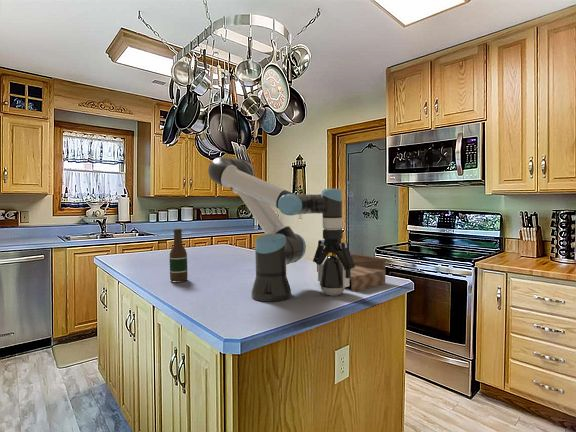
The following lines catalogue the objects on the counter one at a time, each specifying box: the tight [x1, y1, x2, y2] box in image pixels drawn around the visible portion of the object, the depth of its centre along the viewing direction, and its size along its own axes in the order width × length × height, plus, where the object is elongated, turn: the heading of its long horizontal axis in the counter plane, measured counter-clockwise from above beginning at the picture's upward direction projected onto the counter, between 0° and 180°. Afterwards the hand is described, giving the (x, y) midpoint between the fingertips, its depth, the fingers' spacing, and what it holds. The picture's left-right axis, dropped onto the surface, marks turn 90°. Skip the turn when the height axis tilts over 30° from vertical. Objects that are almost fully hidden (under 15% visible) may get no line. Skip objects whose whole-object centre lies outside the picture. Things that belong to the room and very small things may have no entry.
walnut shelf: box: [343, 253, 386, 293], centre depth 154 cm, size 20×18×11 cm
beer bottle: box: [169, 228, 189, 282], centre depth 165 cm, size 8×8×24 cm
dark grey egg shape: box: [319, 254, 346, 297], centre depth 138 cm, size 10×10×15 cm
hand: (333, 283), depth 138 cm, fingers open, 13 cm apart
